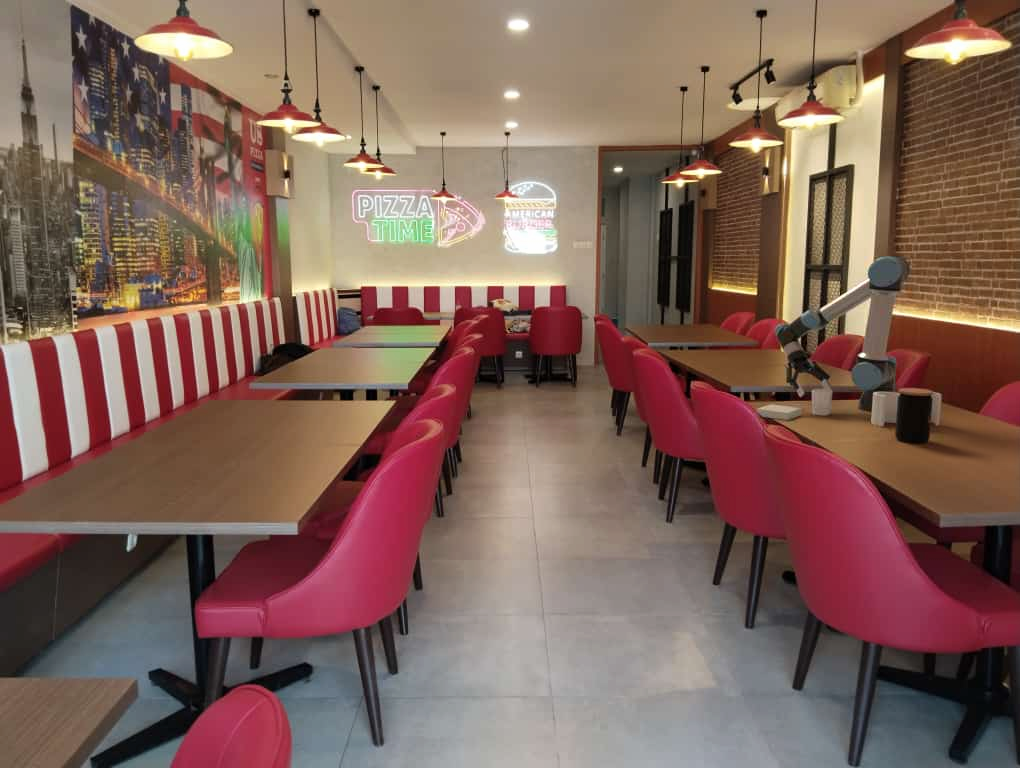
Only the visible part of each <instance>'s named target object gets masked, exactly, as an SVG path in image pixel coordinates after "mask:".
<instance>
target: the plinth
mask: <svg viewBox="0 0 1020 768" xmlns="http://www.w3.org/2000/svg"><path fill="white" fill-rule="evenodd" d="M757 412H758V413H759V414H760V415H761V417H763V418H766V419H767V418H768V419H777V420H781V419H782V421H789V420H791V419H794V418H797V417H799V416H801V412H802V408H801V407H795V406H787V405H779V404H778V405H777V404H768V405H764V406H761V407H758V408H756V413H757Z"/></svg>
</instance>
